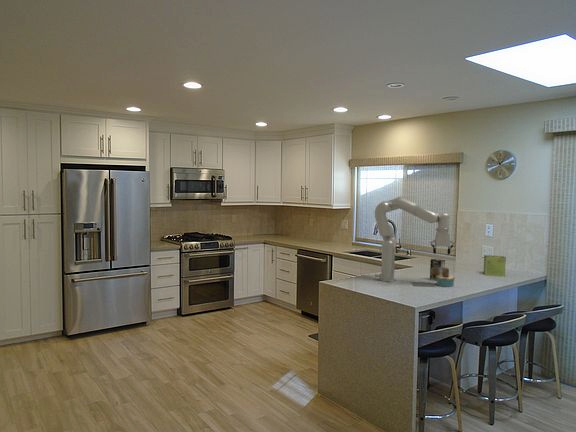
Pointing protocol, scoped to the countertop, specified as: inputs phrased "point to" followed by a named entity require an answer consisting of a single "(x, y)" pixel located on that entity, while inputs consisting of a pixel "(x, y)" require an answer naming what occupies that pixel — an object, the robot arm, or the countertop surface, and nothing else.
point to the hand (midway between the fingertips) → (441, 253)
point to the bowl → (445, 282)
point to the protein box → (494, 265)
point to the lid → (445, 274)
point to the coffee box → (436, 268)
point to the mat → (422, 284)
